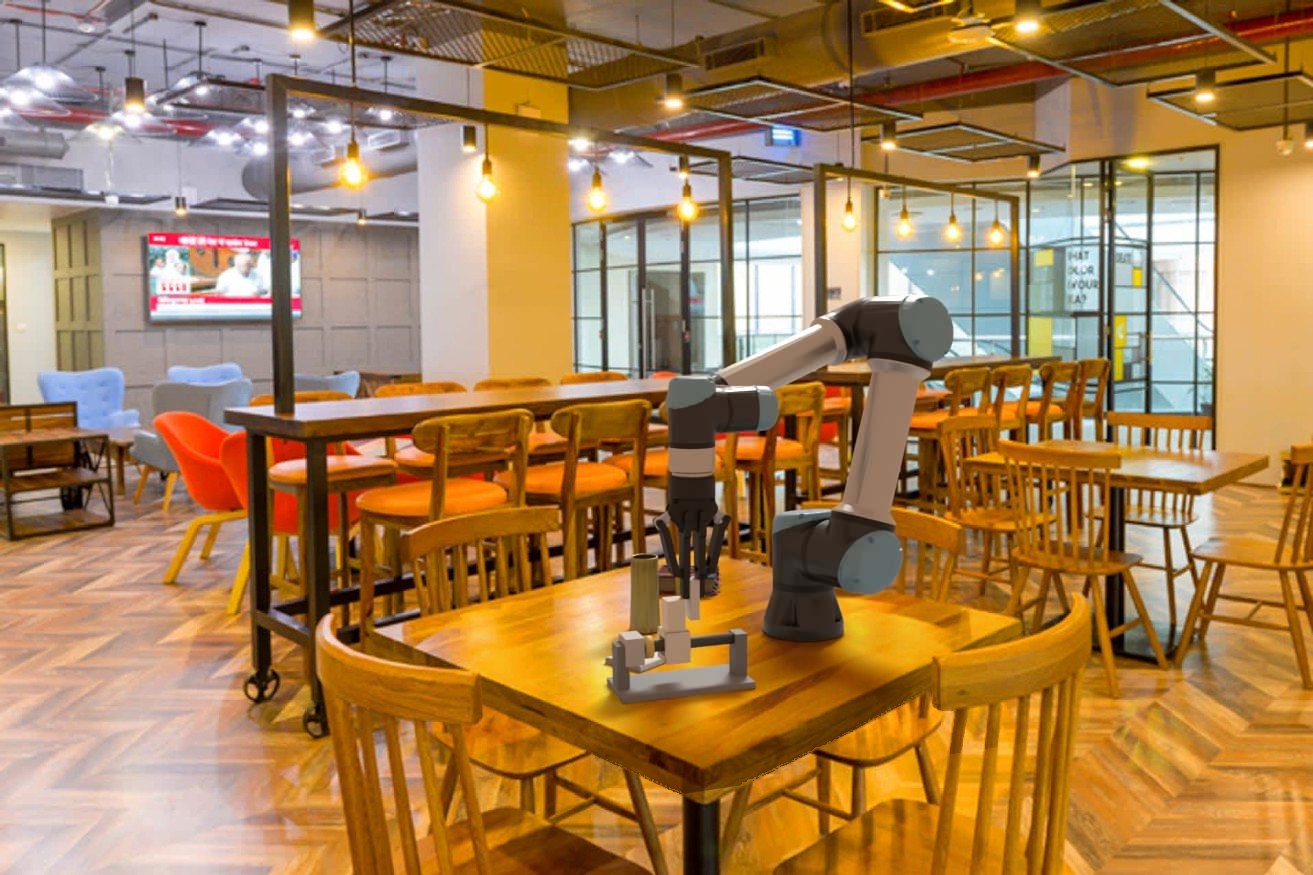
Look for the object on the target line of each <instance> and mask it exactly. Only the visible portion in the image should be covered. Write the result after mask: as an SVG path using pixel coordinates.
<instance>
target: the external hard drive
mask: <svg viewBox="0 0 1313 875" xmlns="http://www.w3.org/2000/svg"><path fill="white" fill-rule="evenodd" d="M604 663H605V664H607V665H611V666H612V655H610V656H607V657H605V660H604ZM664 664H665V663H664V662H663V661H662V660H661V659H660V658H659V657H658V652H655V654H654V657H653V658H649V659H645V665H643V666H634V667H630V671H634V672H638V673H642V672H645V671H649V670H651V669H653V668H655V667H658V666H660V665H664Z"/></svg>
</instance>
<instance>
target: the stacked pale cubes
mask: <svg viewBox="0 0 1313 875" xmlns="http://www.w3.org/2000/svg"><path fill="white" fill-rule="evenodd" d="M686 618H687V617H686V605H685V599H683V598H682V597H681V596H680V595H674V596H673V595H672V596H663V597H661V626H657V632H656V633H657V640H665V651H660V652H658V657H659V658H660V659H661V660H662V661H663V662H664V664H665V665H666V666H670V665H679V664H689V663H691V662H692V660H691V657H692V656H691V655H692V654H691V651H692V650H691V649H692V648H691V639H690V637H691V631H690V630H689V629H687V628H686V627H687V626H686Z"/></svg>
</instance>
